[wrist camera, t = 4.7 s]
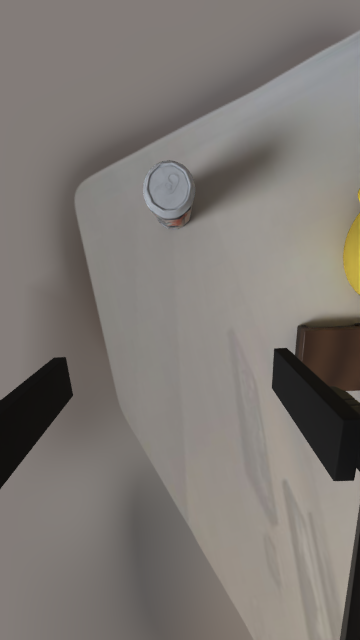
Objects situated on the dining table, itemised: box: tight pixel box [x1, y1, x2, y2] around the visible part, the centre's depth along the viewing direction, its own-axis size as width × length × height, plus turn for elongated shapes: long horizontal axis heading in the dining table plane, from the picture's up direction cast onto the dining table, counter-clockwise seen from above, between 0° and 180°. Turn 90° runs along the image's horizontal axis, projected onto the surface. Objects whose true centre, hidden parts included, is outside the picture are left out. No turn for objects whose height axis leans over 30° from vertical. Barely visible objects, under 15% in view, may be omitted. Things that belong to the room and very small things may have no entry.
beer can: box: [143, 161, 195, 229], centre depth 27 cm, size 5×5×12 cm
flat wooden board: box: [295, 323, 360, 391], centre depth 37 cm, size 10×10×2 cm
